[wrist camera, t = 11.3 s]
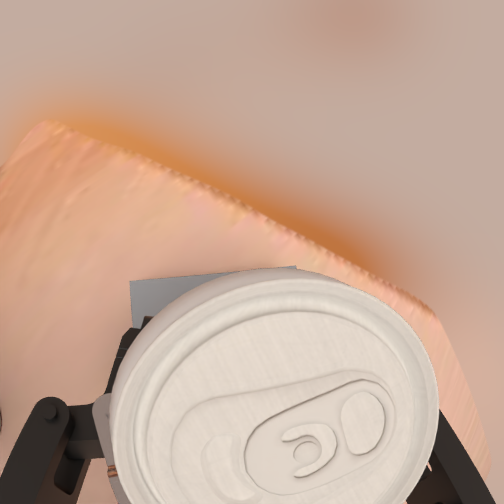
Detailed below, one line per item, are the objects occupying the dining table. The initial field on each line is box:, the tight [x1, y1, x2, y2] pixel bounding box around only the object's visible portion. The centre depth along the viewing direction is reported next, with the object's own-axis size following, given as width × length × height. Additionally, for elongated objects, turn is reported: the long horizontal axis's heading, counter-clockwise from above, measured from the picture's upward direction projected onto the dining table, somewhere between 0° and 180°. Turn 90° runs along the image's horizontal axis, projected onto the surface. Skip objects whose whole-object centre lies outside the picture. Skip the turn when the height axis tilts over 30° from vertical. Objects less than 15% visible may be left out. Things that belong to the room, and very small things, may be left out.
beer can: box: [109, 268, 439, 504], centre depth 10 cm, size 6×6×15 cm
